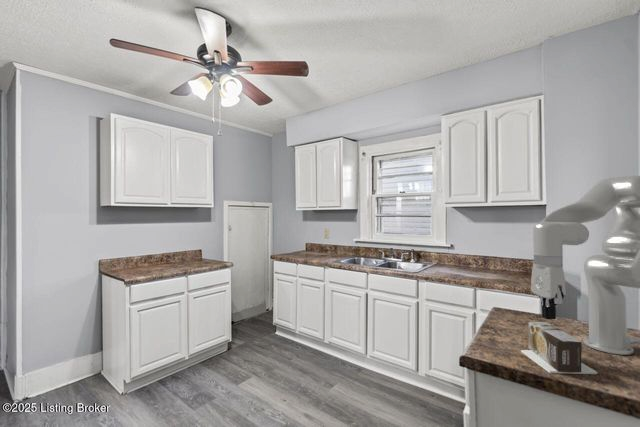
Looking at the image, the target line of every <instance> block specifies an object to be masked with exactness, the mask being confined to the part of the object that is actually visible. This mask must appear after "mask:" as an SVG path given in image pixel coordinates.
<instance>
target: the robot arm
mask: <svg viewBox="0 0 640 427" xmlns="http://www.w3.org/2000/svg"><path fill="white" fill-rule="evenodd" d="M638 208H640V175H627V176H620V177H611V178H610V177H609V178H605V179H603V180H600V181H598V182H597V183H596V184H595V185H594V186H593V187H591V189H589V190H588V191H587V192H586V193H585V194H584V195H583V196H582V197H581V198H580V199H579V200H577V201H574V202H571V203H570V204H567V205H565V206H562V207H559V208H557V209H556V210H554V211H552V212H550V213H549V214H547V215H546V216H545V217H544V218H543V219H542V220H541V221H540V222H537V223H535V224H534V225H533V230H532V231H533V232H532V234H533V236H532V237H533V238H532V239H533V241H532V242H533V264H532V267H531V276H530V277H531V278H530V279H531V280H530V281H531V282H530V290H531V292H532V293H533V294H534V295H536V296H537V297H538V299H539V300H540V304H541V317H542V319H543V318H544V319H546V320H556V318H557V315H556V314H557V313H556V312H557V307H558V305H562V304H563V303H564V302H563V300H564V299H565V298H566V293H567V292H566V291H567V290H566V278H565V277H566V276H565V272H564V260H563V259H564V258H563V257H564V255H563V253H564V252H563V250H564V248H563V246H564V245H565V246H580V245H582V244H585V243H587V241H588V240H589V237H590V231H589V229H588V228H587V226H586V225H584V224H586V223H590V222H593V221H598V220H600V219H603V218H604V217H605V216H606V215H607V214H608V213H609V212H610V211H611V210H612V214H613V221H612V223H611V225H610V227H609V229H608V231H607V232H606V235H605V237H604V239H603V240H602V242H601V250H602V251H603V253H604V254H594V255H591V256H589V257H588V258H586V259H585V261H584V263H583V270H584V275H585V278H586V283H587V290H588V291H587V292H588V293H587V295H588V301H587V302H588V303H587V304H588V336H585V337H584V338H582V339H583V340H582V341H583V344H584V345H586V346H587V347H590V348H592V349H594V350H597V351H599V352H604V353H608V354H615V355H623V356H624V355H632V354H634V347H632V344H640V337H630V335H628V333H627V330H628V328H627V299H626V295H625V292H624V291H623V289H622V288H621V287H627V288H633V289H638V290H640V213H639V211H638V210H636V209H638ZM620 286H621V287H620Z"/></svg>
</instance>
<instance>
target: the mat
mask: <svg viewBox="0 0 640 427" xmlns="http://www.w3.org/2000/svg"><path fill="white" fill-rule="evenodd" d="M520 352H521V353H522V354H523V355H525V356H526V357H528V358H529V359H530V360H532V361H533V362H534V363H536V364H537V365H538V366H539V367H541V368H542V369H544V370H545V371H546V372H548V373H549V374H571V375H572V374H574V375H575V374H577V375H578V374H580V375H598V371H596V370H595V369H593V368H591V367H590V366H588V365H586V364H585V363H583V362H581V372H573V373H571V372H558V371H557V370H556V369H555V368H553V367H552V366H551V365H550V364H548V363H547V362H546V361H544V360H543V359H542V358H541V357H539V356H538V355H537V354H536V353H534V352H533V351H532V350H530V349H521V350H520Z"/></svg>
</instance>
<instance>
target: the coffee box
mask: <svg viewBox="0 0 640 427" xmlns="http://www.w3.org/2000/svg"><path fill="white" fill-rule="evenodd" d="M582 347H583V344H582V342H581V341H580V340H579V339H577V338H576V337H573V336H572V335H570V334H568V333H567V332H565V331H563V330H561V329H559V328H558V327H556V326H554V325H553V324H551V323H549V322H546V321H528V350H532V351H533V352H534V353H536V354H537V355H538V356H539V357H541V358H542V359H543V360H544V361H546V362H547V363H548V364H550V365H551V366H552V367H553V368H555V369H556V370H557V371H558V372H571V373H573V372H581V363H582V350H583V349H582Z"/></svg>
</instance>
